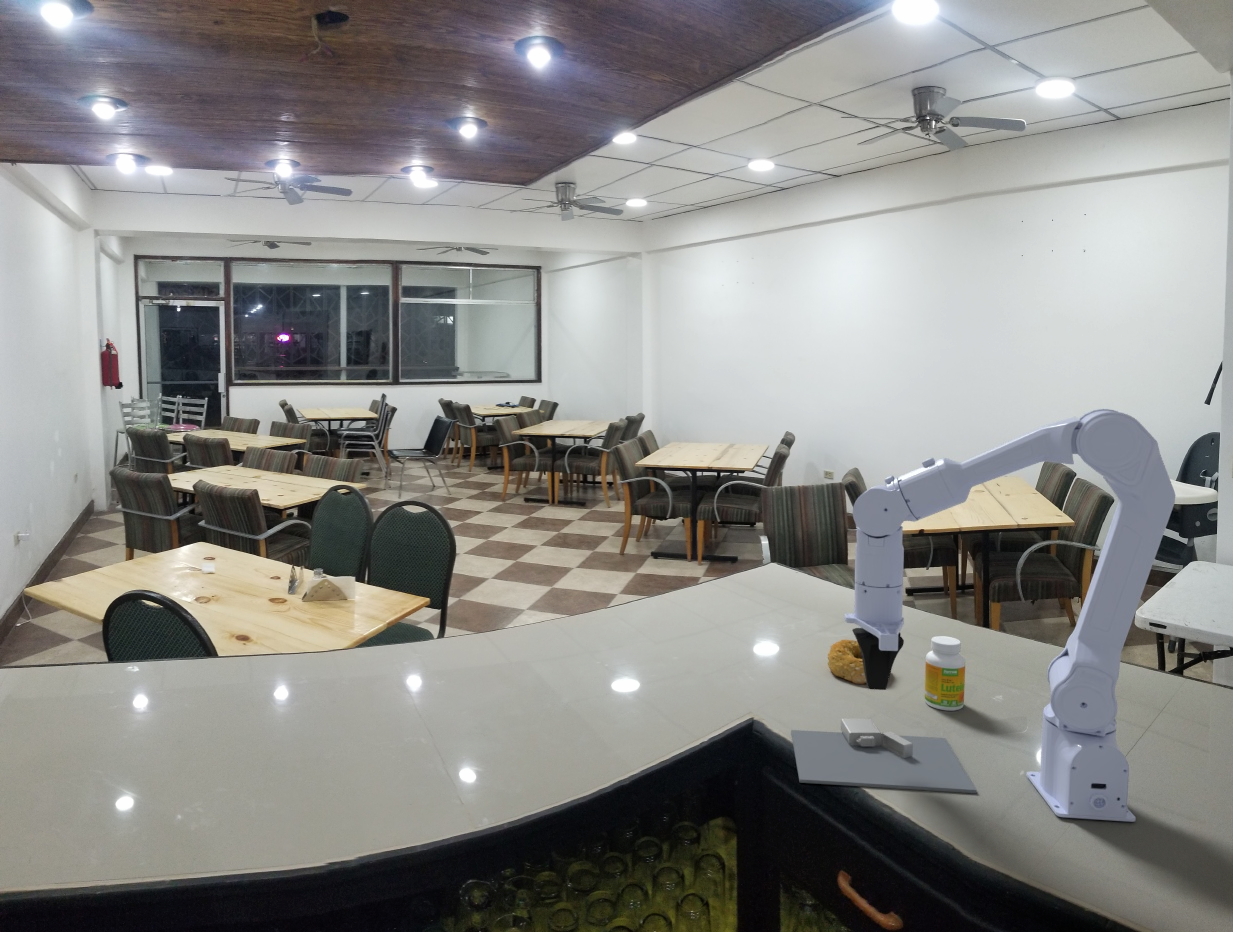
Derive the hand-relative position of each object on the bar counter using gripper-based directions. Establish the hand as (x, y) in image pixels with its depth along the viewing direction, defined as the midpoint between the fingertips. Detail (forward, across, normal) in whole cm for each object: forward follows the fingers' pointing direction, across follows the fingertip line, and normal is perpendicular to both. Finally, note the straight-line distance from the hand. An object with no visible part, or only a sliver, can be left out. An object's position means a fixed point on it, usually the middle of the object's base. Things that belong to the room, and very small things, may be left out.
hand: (876, 687), depth 99 cm
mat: (+9, +1, 0) cm, 9 cm away
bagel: (+10, -30, +3) cm, 31 cm away
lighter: (+8, -7, 0) cm, 10 cm away
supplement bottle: (+9, -18, +13) cm, 24 cm away
